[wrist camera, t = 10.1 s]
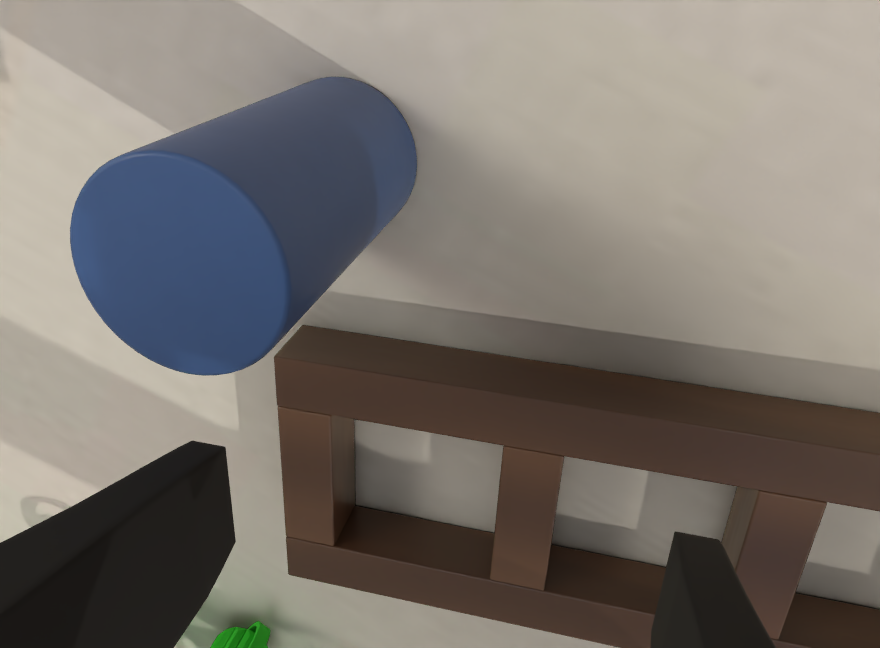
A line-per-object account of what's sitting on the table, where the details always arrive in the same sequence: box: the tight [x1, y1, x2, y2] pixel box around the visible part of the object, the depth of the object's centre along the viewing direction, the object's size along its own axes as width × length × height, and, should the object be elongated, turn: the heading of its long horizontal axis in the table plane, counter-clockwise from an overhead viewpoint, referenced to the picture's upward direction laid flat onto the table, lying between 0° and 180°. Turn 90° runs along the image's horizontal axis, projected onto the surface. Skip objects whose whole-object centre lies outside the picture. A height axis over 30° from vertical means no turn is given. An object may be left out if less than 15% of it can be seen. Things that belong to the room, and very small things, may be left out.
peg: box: [70, 77, 417, 375], centre depth 16 cm, size 4×4×8 cm
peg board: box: [274, 325, 880, 648], centre depth 21 cm, size 8×21×2 cm, turn 88°
